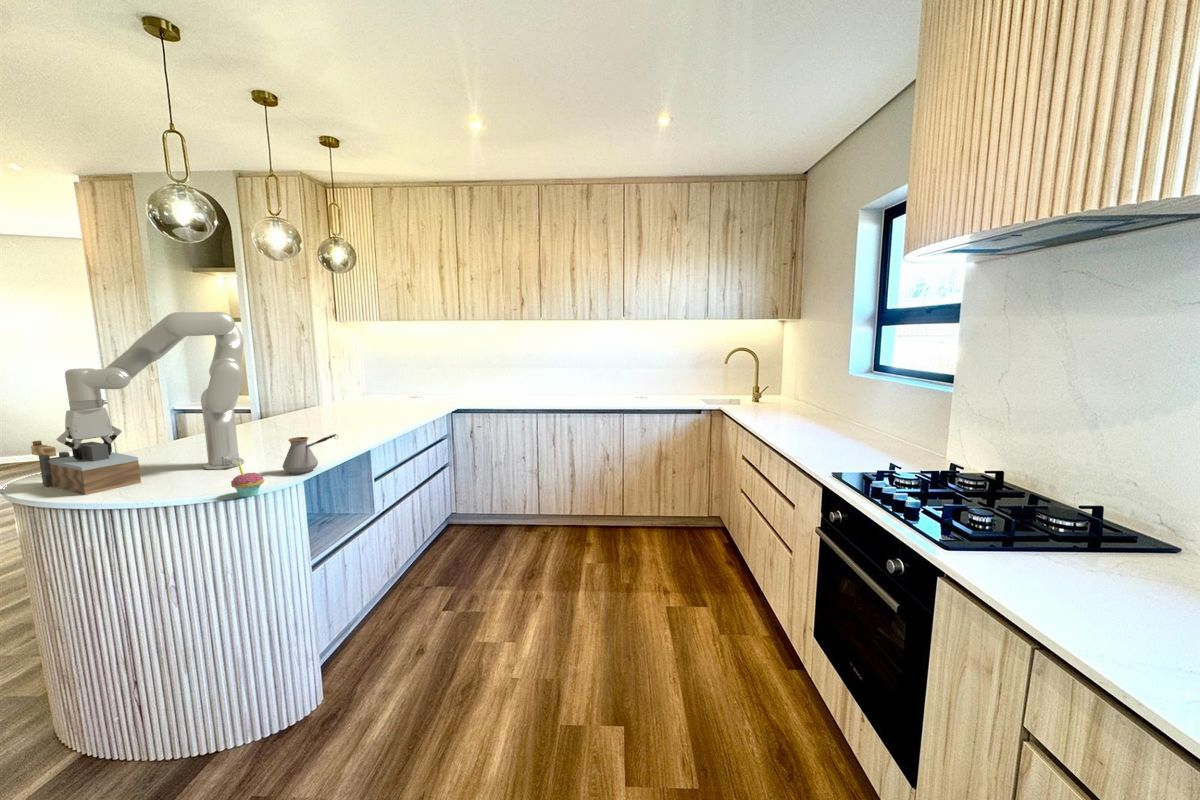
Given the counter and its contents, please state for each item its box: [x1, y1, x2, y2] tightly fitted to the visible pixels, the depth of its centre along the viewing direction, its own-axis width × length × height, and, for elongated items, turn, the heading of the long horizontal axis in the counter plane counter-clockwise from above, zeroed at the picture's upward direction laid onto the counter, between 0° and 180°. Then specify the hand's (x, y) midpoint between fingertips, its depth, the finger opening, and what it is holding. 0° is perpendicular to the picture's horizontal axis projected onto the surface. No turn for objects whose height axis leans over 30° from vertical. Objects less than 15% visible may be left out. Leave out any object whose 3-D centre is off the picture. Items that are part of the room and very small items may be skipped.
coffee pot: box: [282, 433, 339, 475], centre depth 177 cm, size 21×12×15 cm, turn 85°
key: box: [30, 440, 57, 458], centre depth 163 cm, size 10×2×4 cm, turn 68°
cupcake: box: [230, 460, 265, 498], centre depth 152 cm, size 9×8×12 cm
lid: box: [48, 441, 139, 471], centre depth 160 cm, size 22×14×7 cm, turn 68°
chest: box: [38, 451, 142, 496], centre depth 161 cm, size 25×15×11 cm, turn 68°
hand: (93, 456), depth 160 cm, fingers open, 6 cm apart
